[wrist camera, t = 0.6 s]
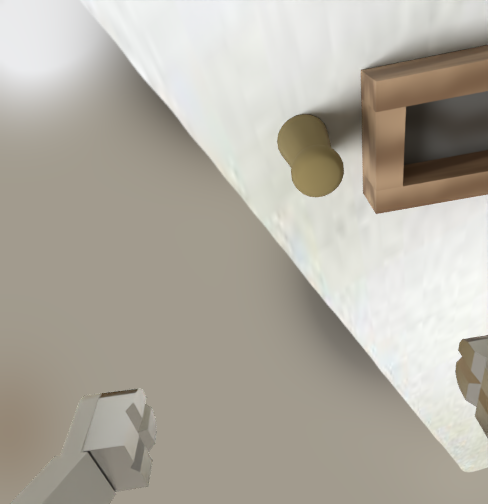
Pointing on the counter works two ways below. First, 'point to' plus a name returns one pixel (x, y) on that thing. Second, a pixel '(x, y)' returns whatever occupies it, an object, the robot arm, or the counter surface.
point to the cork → (310, 155)
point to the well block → (425, 130)
